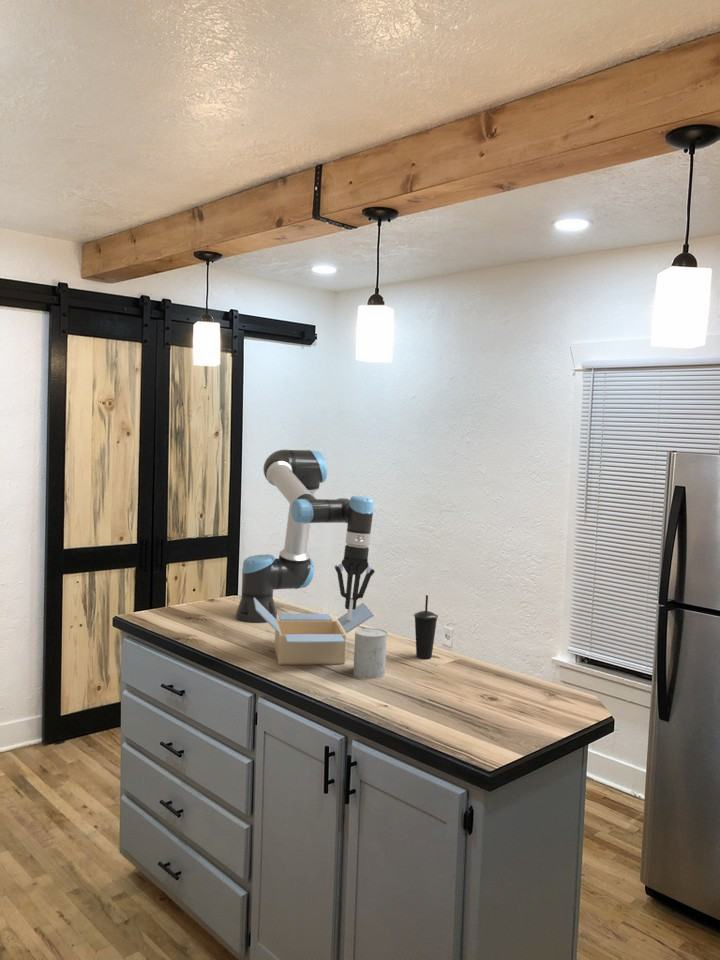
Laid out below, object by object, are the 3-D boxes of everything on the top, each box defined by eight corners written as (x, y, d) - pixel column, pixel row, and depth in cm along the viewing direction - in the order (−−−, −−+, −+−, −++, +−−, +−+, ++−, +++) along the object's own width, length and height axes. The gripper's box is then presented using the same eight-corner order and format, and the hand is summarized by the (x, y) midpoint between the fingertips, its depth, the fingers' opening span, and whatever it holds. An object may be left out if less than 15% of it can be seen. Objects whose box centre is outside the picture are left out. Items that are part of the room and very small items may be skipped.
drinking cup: (408, 657, 243) (411, 595, 242) (417, 652, 250) (420, 591, 249) (430, 662, 240) (433, 599, 239) (439, 656, 246) (442, 595, 245)
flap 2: (363, 602, 251) (363, 603, 251) (337, 618, 250) (338, 619, 250) (373, 614, 234) (374, 615, 234) (345, 632, 233) (346, 633, 233)
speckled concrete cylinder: (386, 669, 230) (388, 629, 229) (384, 679, 220) (386, 637, 219) (354, 667, 231) (356, 627, 230) (351, 677, 221) (353, 635, 220)
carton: (272, 641, 255) (274, 613, 255) (332, 641, 259) (333, 613, 258) (280, 673, 221) (282, 641, 221) (348, 672, 225) (350, 641, 224)
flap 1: (275, 618, 246) (274, 619, 246) (254, 597, 244) (253, 598, 244) (279, 632, 229) (278, 633, 229) (256, 609, 228) (255, 610, 228)
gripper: (339, 545, 236) (330, 620, 237) (378, 549, 238) (370, 623, 239) (336, 542, 243) (328, 615, 244) (374, 545, 245) (366, 617, 246)
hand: (349, 619), depth 241 cm, fingers closed
